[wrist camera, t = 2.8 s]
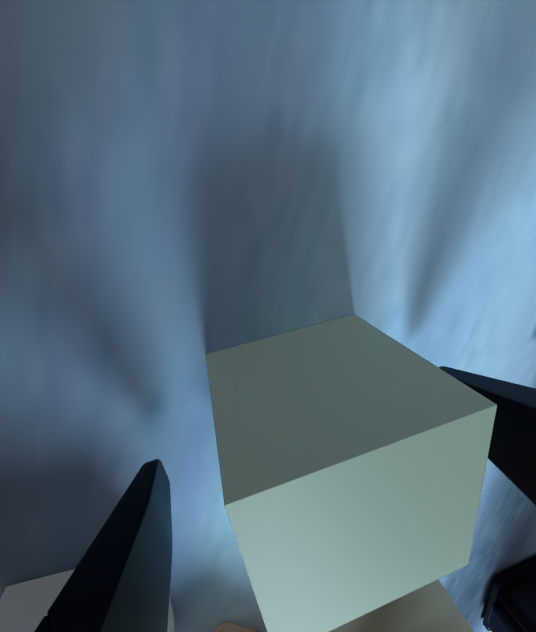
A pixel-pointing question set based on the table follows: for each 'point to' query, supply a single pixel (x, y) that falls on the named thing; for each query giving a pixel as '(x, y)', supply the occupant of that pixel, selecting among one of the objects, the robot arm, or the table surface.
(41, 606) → the white cube
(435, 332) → the table surface
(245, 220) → the table surface
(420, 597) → the beech cube
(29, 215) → the table surface
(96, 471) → the table surface
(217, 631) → the terracotta cube
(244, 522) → the sage cube
